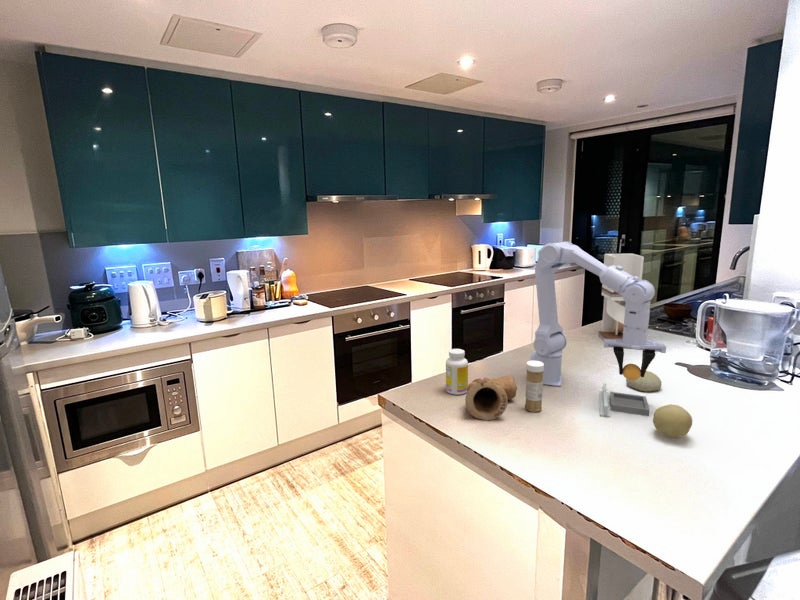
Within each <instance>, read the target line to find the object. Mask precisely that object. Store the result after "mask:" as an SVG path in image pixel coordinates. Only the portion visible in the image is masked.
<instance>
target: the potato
mask: <svg viewBox="0 0 800 600" xmlns="http://www.w3.org/2000/svg"><path fill="white" fill-rule="evenodd" d="M652 414H653V417H652V423H653V427H654V428H655V429H656V431H658V432H659V434H661V435H663V436H665V437H668V438H672V439H674V438H675V439H679V438H683V437H685V436H687V434H688V433H689V432H690V430H691V428H692V426H693V417H692V415H691V413H689V411H688V410H686V409H685V408H684V407H682V406H680V405H678V404H677V405H676V404H667V405H663V406H660V407H658V408H655V410H654V412H653V413H652Z"/></svg>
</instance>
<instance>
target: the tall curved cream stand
mask: <svg viewBox="0 0 800 600" xmlns="http://www.w3.org/2000/svg"><path fill="white" fill-rule="evenodd" d="M644 258H645V257H644V256H642V255H639V254H635V253H604V257H603V264H604V265H606V266H607V267H609V266H612V265H614V266H616V267H617V266H621V267H623V269H622V270H623V271H625V272H627V273H628V274H630V275H632V276H637V277H639V279H638V280H643V269H644V260H645V259H644ZM601 284H602V283H601ZM601 296H603V310H602V323H601V330H599V331H598V337H599V338H601V340H602V341H604V339H623V328H624V316H625V306H626V302H625V301H624V299H623V297H622V295H620V294H618V293H617V292H615V291H614V290H612V289H610V288H609V287H607V286H606V285H604V284H602V286H601Z"/></svg>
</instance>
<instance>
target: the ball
mask: <svg viewBox="0 0 800 600" xmlns="http://www.w3.org/2000/svg"><path fill="white" fill-rule="evenodd" d="M622 376H623V377H624V378H625V380H626V379H628V380H632V381H633V380H637V379H638V378H639V377H640V376H641V367H640V366H638V365H637V364H634V363H627V364H626V365H624V366H623V374H622Z"/></svg>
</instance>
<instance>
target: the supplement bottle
mask: <svg viewBox="0 0 800 600" xmlns="http://www.w3.org/2000/svg"><path fill="white" fill-rule="evenodd" d="M465 355H466V353H465V350H464V349H461V348H452V349H449V351H448V356H449V357H448V358H447V359H446V360H445V390H446V392H447V393H449V394H450V395H457V396H460V395H464V394H465V395H466V394H467V387H468V385H469V361H468V359H466V358H465Z"/></svg>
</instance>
